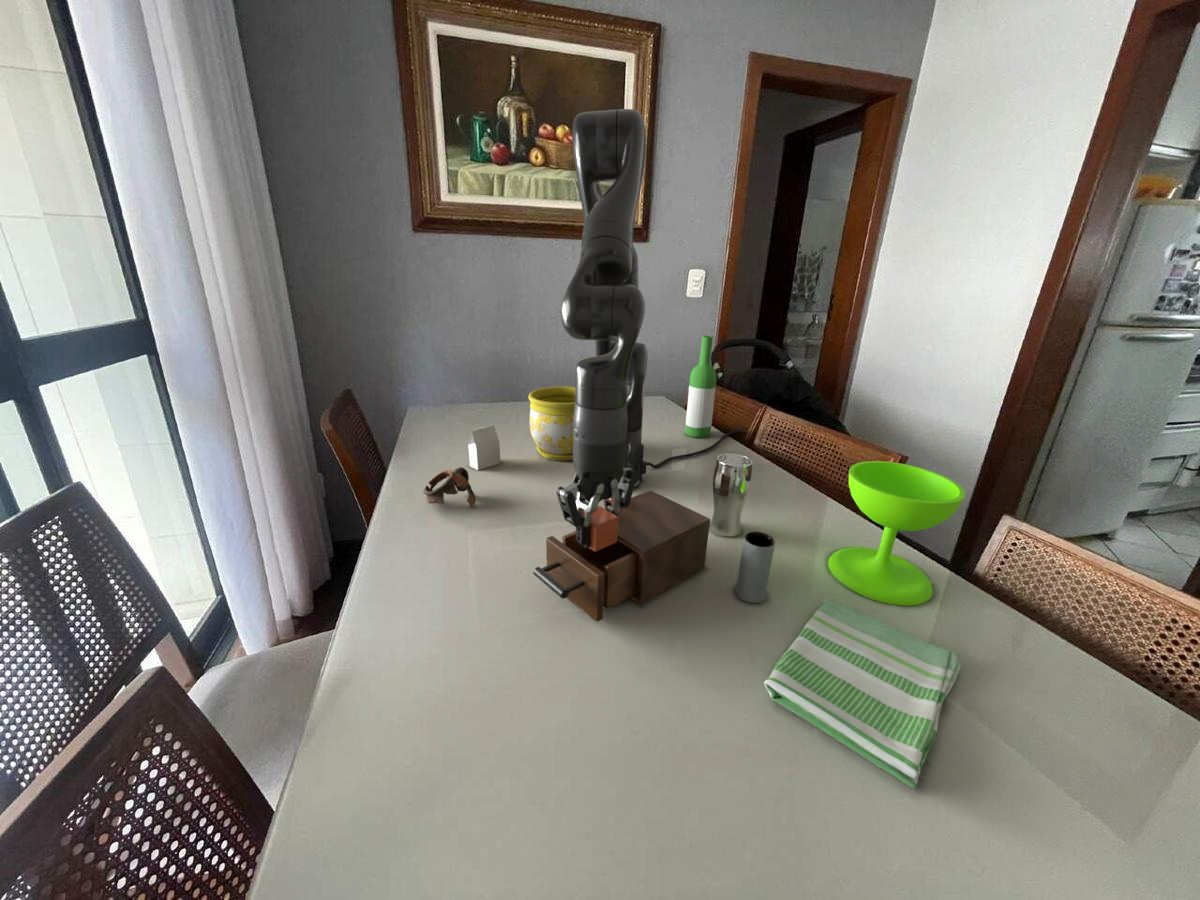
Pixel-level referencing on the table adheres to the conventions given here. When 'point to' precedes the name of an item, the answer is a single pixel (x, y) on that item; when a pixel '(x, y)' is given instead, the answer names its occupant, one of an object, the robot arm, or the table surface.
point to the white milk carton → (484, 447)
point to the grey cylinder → (755, 566)
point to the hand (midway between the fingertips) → (597, 538)
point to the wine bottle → (701, 394)
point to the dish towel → (867, 686)
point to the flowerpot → (553, 421)
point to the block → (603, 529)
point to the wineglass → (894, 528)
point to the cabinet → (662, 542)
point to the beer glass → (730, 493)
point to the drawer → (590, 573)
